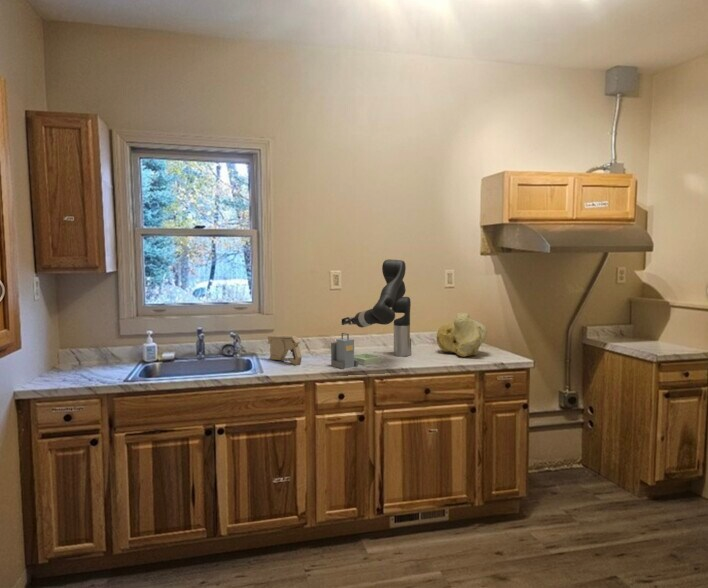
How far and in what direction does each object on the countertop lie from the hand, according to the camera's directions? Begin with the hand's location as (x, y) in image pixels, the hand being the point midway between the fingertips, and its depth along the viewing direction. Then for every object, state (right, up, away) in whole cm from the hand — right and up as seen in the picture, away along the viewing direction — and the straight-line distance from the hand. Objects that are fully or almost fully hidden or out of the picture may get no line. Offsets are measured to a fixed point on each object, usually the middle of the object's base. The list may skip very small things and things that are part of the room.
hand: (350, 323), depth 252 cm
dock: (-3, -22, +6) cm, 23 cm away
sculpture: (+63, -20, +36) cm, 75 cm away
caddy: (-3, -22, +6) cm, 23 cm away
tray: (+8, -22, +17) cm, 29 cm away
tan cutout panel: (-35, -22, +18) cm, 46 cm away
